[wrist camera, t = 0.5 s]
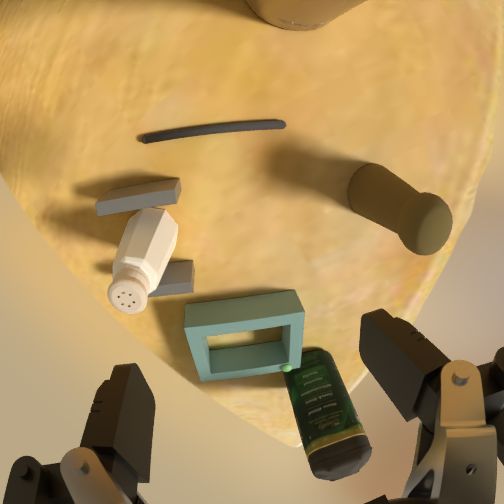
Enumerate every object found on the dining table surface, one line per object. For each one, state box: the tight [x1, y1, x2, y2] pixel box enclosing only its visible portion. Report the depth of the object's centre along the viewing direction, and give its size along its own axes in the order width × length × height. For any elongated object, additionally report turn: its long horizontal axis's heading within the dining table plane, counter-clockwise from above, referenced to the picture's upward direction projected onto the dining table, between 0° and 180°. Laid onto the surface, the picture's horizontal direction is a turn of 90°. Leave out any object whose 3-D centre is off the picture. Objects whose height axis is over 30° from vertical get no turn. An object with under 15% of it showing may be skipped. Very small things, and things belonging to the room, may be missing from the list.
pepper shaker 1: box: [108, 208, 178, 314], centre depth 22 cm, size 5×5×11 cm
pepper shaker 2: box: [348, 164, 453, 255], centre depth 23 cm, size 6×6×11 cm
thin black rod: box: [142, 120, 286, 144], centre depth 23 cm, size 13×1×1 cm, turn 93°
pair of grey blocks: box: [95, 178, 195, 297], centre depth 25 cm, size 10×7×4 cm
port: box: [184, 290, 305, 382], centre depth 32 cm, size 10×13×4 cm
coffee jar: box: [284, 350, 372, 481], centre depth 32 cm, size 10×8×19 cm
